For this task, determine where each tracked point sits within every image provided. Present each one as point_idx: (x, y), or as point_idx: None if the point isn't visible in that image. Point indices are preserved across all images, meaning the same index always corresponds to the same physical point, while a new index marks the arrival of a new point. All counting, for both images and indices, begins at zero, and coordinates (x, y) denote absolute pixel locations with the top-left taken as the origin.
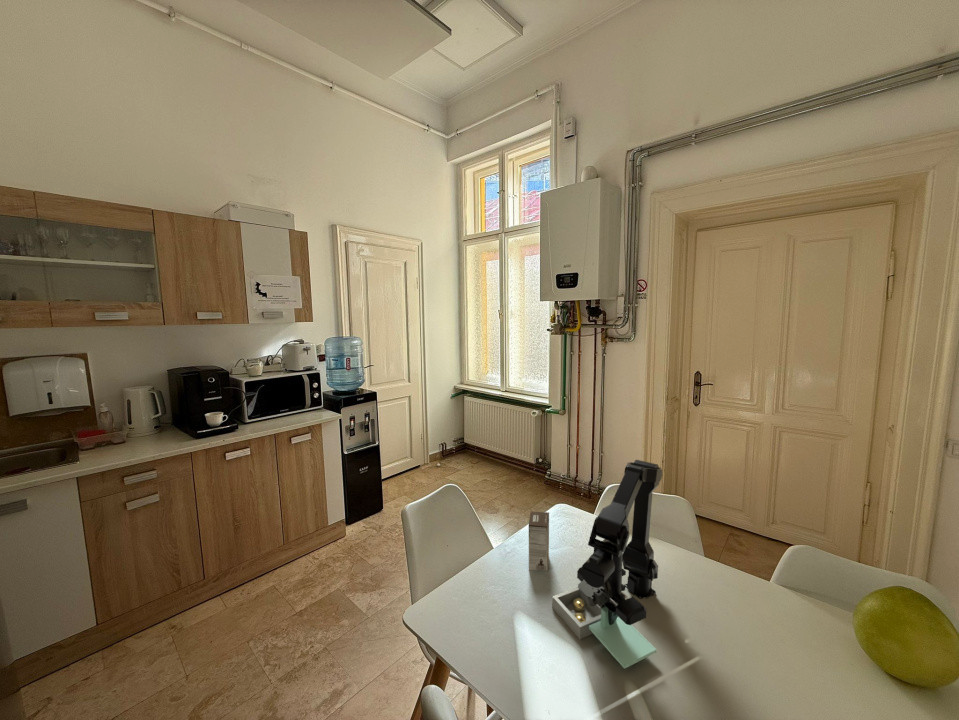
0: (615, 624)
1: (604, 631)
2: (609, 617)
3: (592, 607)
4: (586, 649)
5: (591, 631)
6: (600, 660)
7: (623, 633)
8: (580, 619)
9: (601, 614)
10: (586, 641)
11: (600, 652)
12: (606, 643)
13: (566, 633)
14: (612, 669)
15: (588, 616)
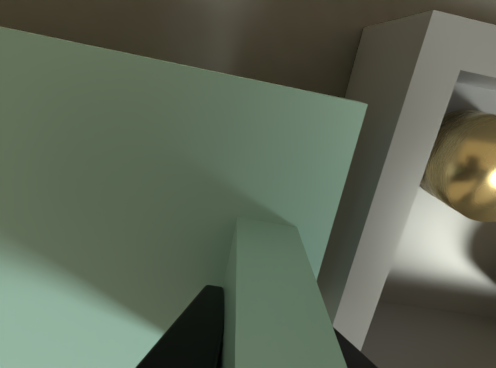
0: None
1: (208, 183)
2: (190, 345)
3: (467, 336)
4: (282, 8)
5: None
6: (146, 14)
7: (83, 312)
8: (480, 154)
9: (313, 300)
10: (328, 75)
11: None
12: (82, 63)
13: (485, 2)
14: (36, 22)
15: (444, 261)
